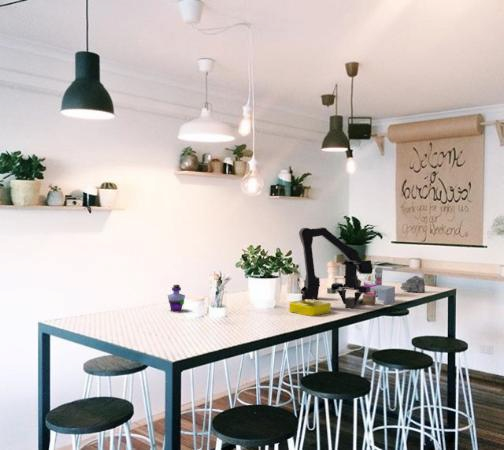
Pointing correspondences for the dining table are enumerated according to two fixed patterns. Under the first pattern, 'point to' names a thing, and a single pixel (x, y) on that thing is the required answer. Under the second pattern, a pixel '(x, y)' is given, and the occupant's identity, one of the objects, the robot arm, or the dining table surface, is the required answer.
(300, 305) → the element tile
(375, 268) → the candy bar box
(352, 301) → the hook tool
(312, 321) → the dining table surface
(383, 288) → the cubby
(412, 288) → the mineral rock
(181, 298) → the potion bottle
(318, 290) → the coffee mug
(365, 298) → the cube
